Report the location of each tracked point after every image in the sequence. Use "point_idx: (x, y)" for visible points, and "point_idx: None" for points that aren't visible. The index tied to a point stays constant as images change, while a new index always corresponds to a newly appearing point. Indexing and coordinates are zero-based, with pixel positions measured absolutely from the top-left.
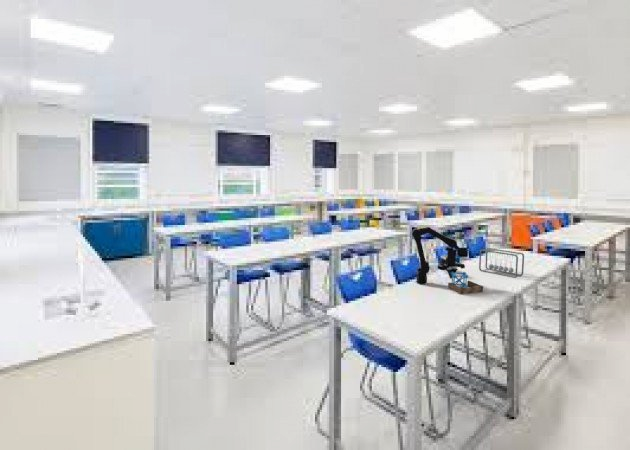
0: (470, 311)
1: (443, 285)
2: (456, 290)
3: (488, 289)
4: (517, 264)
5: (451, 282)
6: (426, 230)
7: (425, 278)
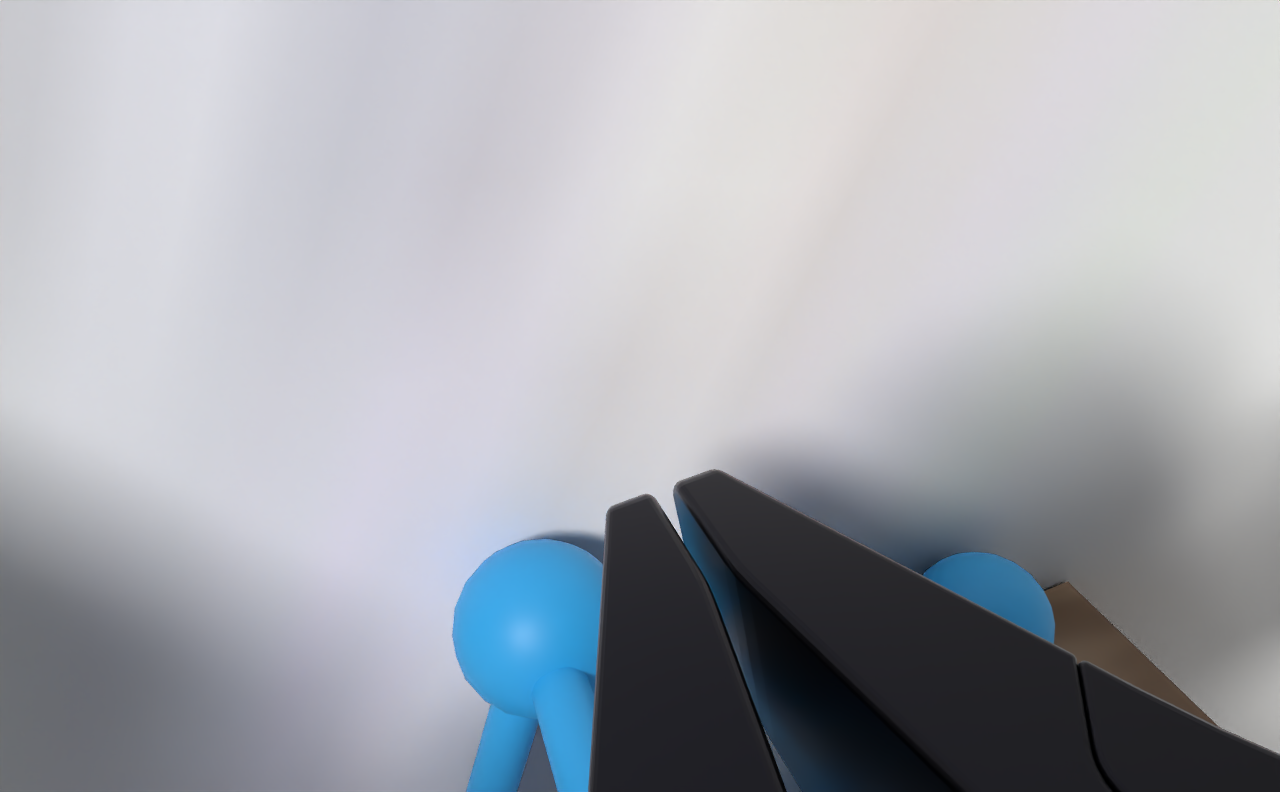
0: None
1: (50, 603)
2: None
3: (1275, 745)
4: None
5: (519, 689)
6: None
7: None
